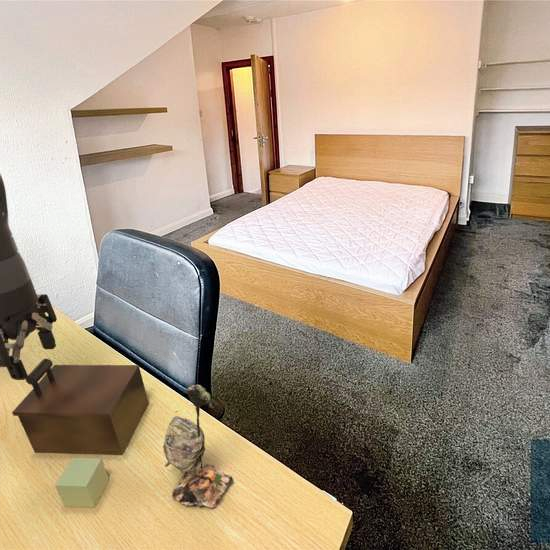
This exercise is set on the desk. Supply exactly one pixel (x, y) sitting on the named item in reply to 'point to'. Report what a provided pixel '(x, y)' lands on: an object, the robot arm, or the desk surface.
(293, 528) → the desk surface
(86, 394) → the lid
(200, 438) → the plant with pod
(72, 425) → the chest
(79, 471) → the block
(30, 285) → the robot arm
